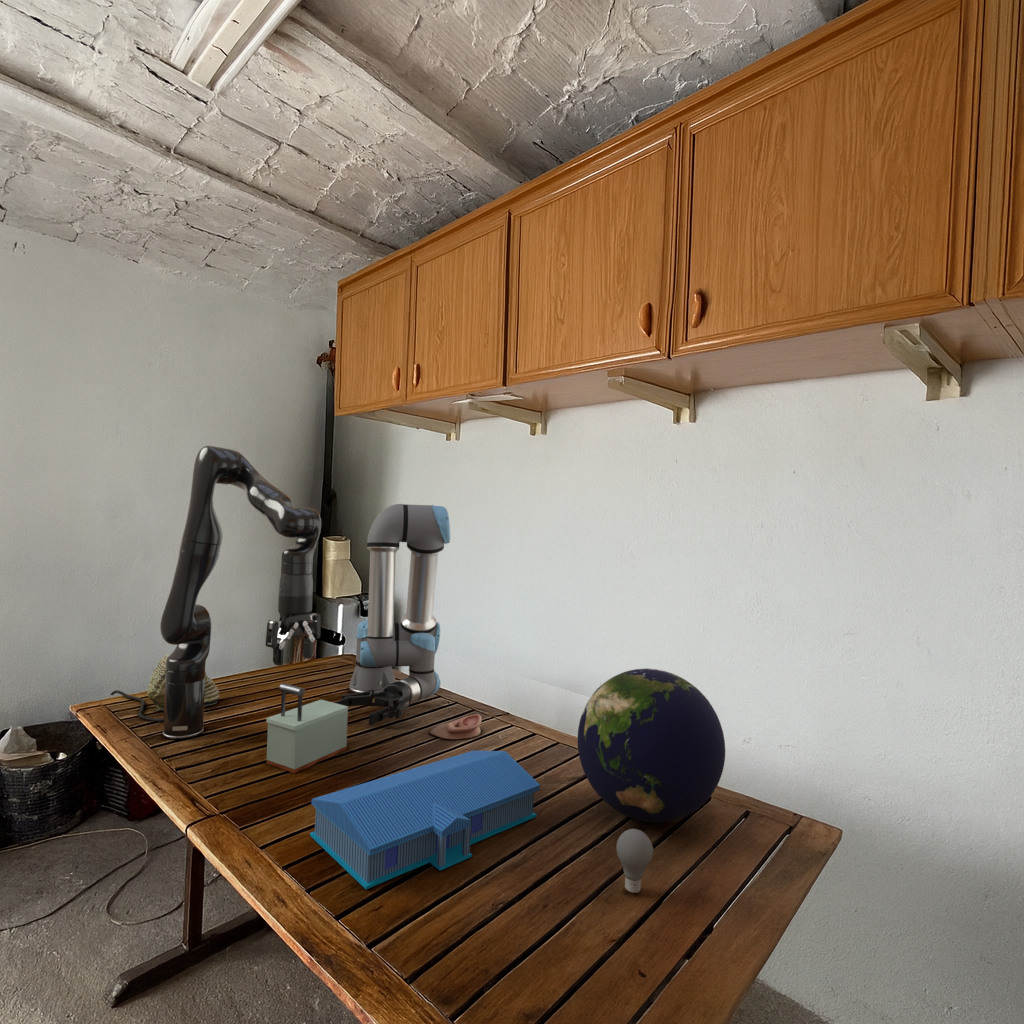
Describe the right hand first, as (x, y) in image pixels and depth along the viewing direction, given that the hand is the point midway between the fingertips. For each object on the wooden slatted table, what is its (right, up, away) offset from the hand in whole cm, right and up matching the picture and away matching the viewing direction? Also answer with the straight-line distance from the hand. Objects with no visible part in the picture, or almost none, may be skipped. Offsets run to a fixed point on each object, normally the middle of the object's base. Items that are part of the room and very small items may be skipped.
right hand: (349, 714), depth 164 cm
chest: (-8, -7, -10) cm, 14 cm away
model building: (+27, -9, -41) cm, 50 cm away
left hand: (-9, +17, -15) cm, 25 cm away
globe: (+70, -11, -32) cm, 78 cm away
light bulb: (+62, -11, -58) cm, 86 cm away
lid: (-7, +3, -10) cm, 13 cm away
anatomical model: (+27, -8, +10) cm, 29 cm away
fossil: (-54, -4, +21) cm, 58 cm away
